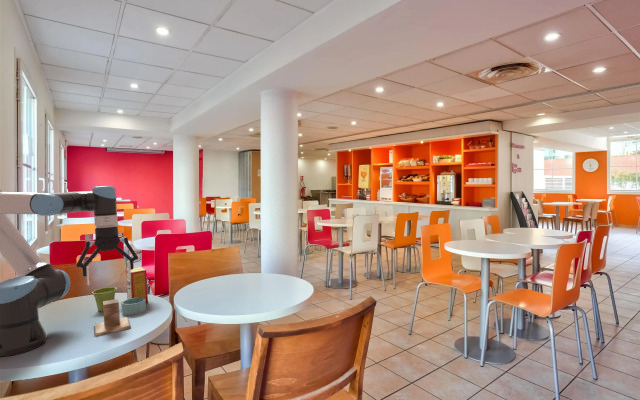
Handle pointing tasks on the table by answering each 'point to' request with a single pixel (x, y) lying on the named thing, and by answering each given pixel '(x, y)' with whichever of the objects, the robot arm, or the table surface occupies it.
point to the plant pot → (104, 296)
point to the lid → (111, 319)
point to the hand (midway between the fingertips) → (109, 281)
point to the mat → (111, 332)
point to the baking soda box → (137, 284)
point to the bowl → (133, 306)
